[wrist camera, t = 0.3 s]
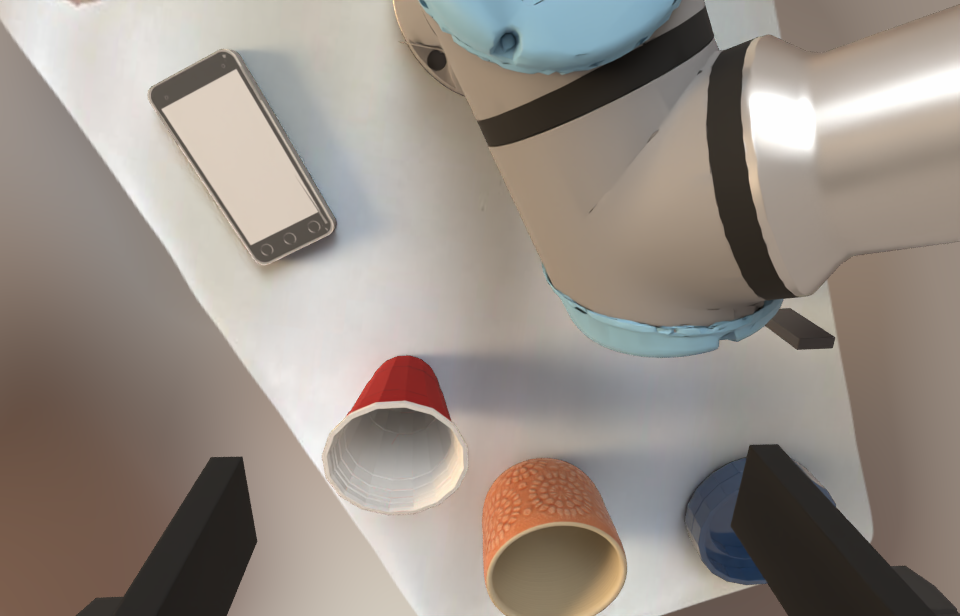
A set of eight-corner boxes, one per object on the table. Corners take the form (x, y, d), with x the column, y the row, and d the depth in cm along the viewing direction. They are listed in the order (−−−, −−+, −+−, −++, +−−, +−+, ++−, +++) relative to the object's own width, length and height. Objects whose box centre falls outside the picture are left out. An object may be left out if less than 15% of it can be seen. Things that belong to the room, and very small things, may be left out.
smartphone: (259, 268, 45) (142, 91, 40) (263, 264, 46) (149, 91, 41) (337, 230, 45) (229, 44, 39) (340, 227, 46) (234, 45, 40)
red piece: (688, 245, 48) (787, 310, 34) (742, 243, 48) (861, 307, 35) (681, 296, 50) (772, 378, 36) (733, 294, 50) (843, 375, 36)
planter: (615, 457, 56) (652, 538, 46) (569, 546, 60) (594, 639, 50) (501, 428, 54) (514, 506, 44) (462, 523, 58) (465, 615, 48)
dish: (692, 454, 57) (709, 480, 53) (825, 447, 57) (852, 472, 54) (675, 558, 62) (690, 588, 58) (798, 551, 63) (820, 580, 59)
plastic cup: (366, 443, 54) (346, 536, 43) (332, 346, 50) (299, 421, 39) (475, 419, 54) (483, 506, 42) (449, 320, 49) (450, 388, 38)
